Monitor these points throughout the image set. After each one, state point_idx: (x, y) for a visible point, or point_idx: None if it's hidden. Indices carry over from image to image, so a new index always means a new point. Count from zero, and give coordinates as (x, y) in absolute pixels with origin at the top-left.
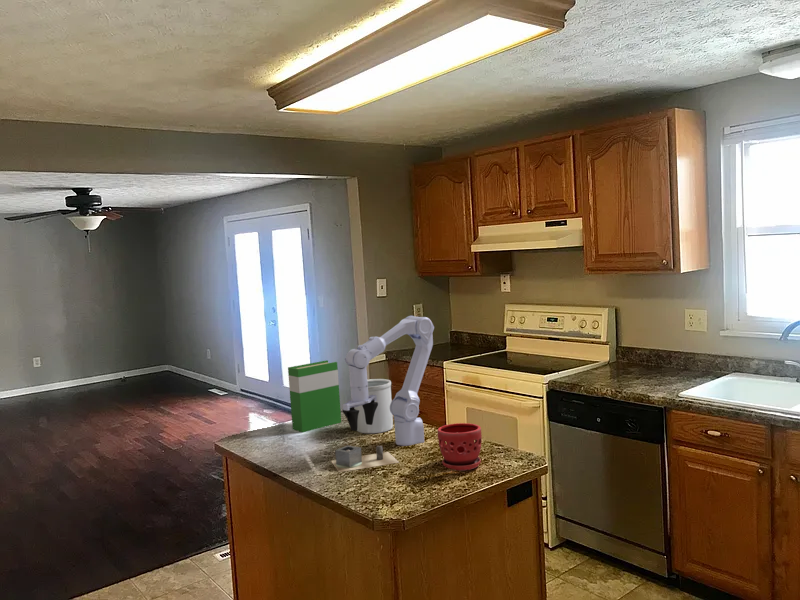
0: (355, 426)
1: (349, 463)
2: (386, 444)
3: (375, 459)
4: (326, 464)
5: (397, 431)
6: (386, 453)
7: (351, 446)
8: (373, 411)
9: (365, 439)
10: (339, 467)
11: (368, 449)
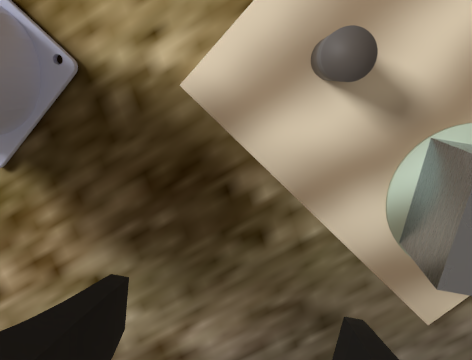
0: (388, 351)
1: None
2: (26, 194)
3: (348, 84)
4: (433, 331)
5: None
6: (216, 76)
7: (463, 245)
8: (25, 348)
9: None
10: None
11: (141, 246)
